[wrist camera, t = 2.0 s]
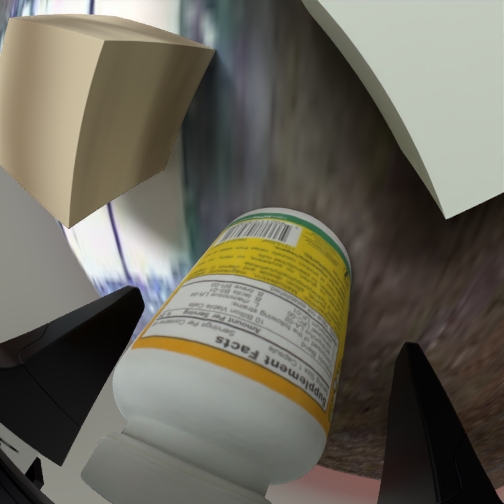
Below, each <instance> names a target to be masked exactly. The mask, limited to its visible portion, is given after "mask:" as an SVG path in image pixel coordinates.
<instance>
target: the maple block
mask: <svg viewBox="0 0 504 504" xmlns="http://www.w3.org/2000/svg"><path fill="white" fill-rule="evenodd" d="M215 51H216V50H215V49H212V48H210V47H208V46H205V45H203V44H200V43H198V42H195V41H193V40H190V39H187V38H185V37H182V36H179V35H176V34H173V33H171V32H168V31H165V30H162V29H159V28H155V27H152V26H149V25H146V24H142V23H139V22H135V21H132V20H128V19H124V18H120V17H116V16H105V15H85V14H55V15H36V16H24V17H15V18H10V19H9V22H8V26H7V30H6V34H5V38H4V42H3V47H2V51H1V57H0V165H1V166H2V167H3V168H4V169H5V170H6V171H7V172H8V173H9V174H10V175H11V176H12V177H13V178H14V179H15V180H16V181H17V182H18V183H19V184H20V185H21V186H22V187H23V188H24V189H25V190H26V191H27V192H28V193H29V194H30V195H31V196H32V197H33V198H34V199H36V200H37V201H38V202H39V203H40V204H41V205H42V206H43V207H44V208H45V209H47V211H49V212H50V213H51V214H52V215H53V216H54V217H55V218H56V219H57V220H59V221H60V222H61V223H62V224H63V225H64V226H65V227H67V228H68V229H70V228H71V227H73V226H74V225H75V224H77V223H78V222H80V221H81V220H83V219H84V218H86V217H87V216H89V215H90V214H92V213H93V212H95V211H96V210H98V209H99V208H101V207H102V206H104V205H105V204H107V203H109V202H110V201H112V200H113V199H115V198H116V197H118V196H120V195H121V194H123V193H125V192H126V191H128V190H130V189H131V188H133V187H135V186H136V185H138V184H140V183H141V182H143V181H145V180H147V179H148V178H150V177H152V176H154V175H155V174H157V173H159V172H161V171H162V170H164V168H165V165H166V163H167V160H168V157H169V155H170V152H171V149H172V147H173V144H174V142H175V139H176V137H177V134H178V132H179V129H180V127H181V124H182V122H183V120H184V117H185V115H186V113H187V110H188V108H189V106H190V103H191V101H192V99H193V97H194V94H195V92H196V90H197V88H198V86H199V84H200V82H201V79H202V77H203V75H204V73H205V71H206V69H207V67H208V65H209V63H210V61H211V59H212V57H213V55H214V53H215Z"/></svg>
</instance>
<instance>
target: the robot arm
mask: <svg viewBox="0 0 504 504" xmlns="http://www.w3.org/2000/svg"><path fill="white" fill-rule="evenodd" d="M144 308H145V304H144V301H143V298H142V295H141V292H140V289H139V288H138V287H135V286H131V285H128V286H126V287H123V288H121V289H119V290H117V291H115V292H113V293H110V294H108V295H106V296H104V297H102V298H100V299H98V300H96V301H93V302H91V303H89V304H87V305H85V306H83V307H81V308H78V309H76V310H74V311H72V312H70V313H68V314H66V315H64V316H62V317H59V318H58V319H55V320H53V321H51V322H50V323H47V324H45V325H43V326H41V327H39V328H36V329H34V330H32V331H30V332H27V333H25V334H23V335H20V336H18V337H16V338H13V339H10V340H8V341H5V342H2V343H0V504H55V503H53V502H52V501H51V500H50V499H49V498H48V497H47V496H46V495H45V494H43V493H42V492H41V491H40V489H41V488H42V486H43V485H44V481H43V475H42V468H41V460H40V459H39V458H38V457H37V456H38V454H39V453H40V454H42V455H43V456H45V457H46V458H48V459H49V460H51V461H52V462H54V463H56V464H57V465H59V466H62V464H63V463H64V461H65V459H66V457H67V455H68V453H69V450H70V448H71V446H72V444H73V442H74V441H75V439H76V437H77V435H78V433H79V431H80V429H81V426H82V425H83V423H84V421H85V419H86V417H87V415H88V413H89V411H90V410H91V408H92V406H93V404H94V402H95V400H96V399H97V397H98V395H99V393H100V391H101V390H102V388H103V386H104V384H105V382H106V381H107V379H108V377H109V375H110V374H111V372H112V370H113V368H114V367H115V365H116V363H117V362H118V360H119V358H120V356H121V355H122V353H123V351H124V350H125V348H126V346H127V344H128V342H129V340H130V338H131V336H132V334H133V332H134V330H135V328H136V326H137V324H138V322H139V319H140V317H141V315H142V313H143V311H144ZM377 504H504V503H503V502H502V501H501V500H500V498H499V497H498V495H497V493H496V491H495V489H494V487H493V485H492V483H491V482H490V480H489V478H488V476H487V474H486V472H485V471H484V469H483V467H482V465H481V463H480V461H479V459H478V457H477V456H476V453H475V451H474V449H473V447H472V445H471V443H470V441H469V439H468V436H467V434H466V433H465V430H464V428H463V426H462V424H461V422H460V420H459V418H458V416H457V414H456V412H455V410H454V408H453V406H452V404H451V402H450V400H449V398H448V396H447V394H446V392H445V390H444V388H443V386H442V385H441V383H440V381H439V379H438V377H437V375H436V374H435V372H434V370H433V368H432V366H431V365H430V363H429V361H428V359H427V358H426V356H425V354H424V353H423V351H422V349H421V347H420V346H419V344H417V343H413V342H405V343H404V345H403V347H402V349H401V351H400V353H399V355H398V357H397V359H396V362H395V368H394V376H393V383H392V390H391V397H390V403H389V410H388V424H387V436H386V447H385V456H384V464H383V471H382V478H381V485H380V491H379V496H378V502H377Z"/></svg>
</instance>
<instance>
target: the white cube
mask: <svg viewBox="0 0 504 504" xmlns="http://www.w3.org/2000/svg"><path fill="white" fill-rule="evenodd" d="M301 1H302V3H303V4H304V6H305V7H306V9H307V10H308V12H309V13H310V15H311V16H312V17H313V18H314V19H315V20H316V22H317V23H318V24H319V25H320V26H321V28H322V29H323V30H324V31H325V32H326V34H327V35H328V36H329V37H330V39H331V40H332V41H333V43H334V44H335V45H336V46H337V48H338V49H339V50H340V52H341V53H342V54H343V56H344V57H345V58H346V60H347V61H348V63H349V64H350V65H351V67H352V68H353V70H354V71H355V73H356V74H357V76H358V77H359V79H360V80H361V82H362V83H363V85H364V86H365V88H366V89H367V91H368V92H369V94H370V95H371V97H372V99H373V100H374V102H375V104H376V105H377V107H378V109H379V110H380V112H381V114H382V115H383V117H384V119H385V121H386V122H387V124H388V126H389V128H390V130H391V131H392V133H393V135H394V137H395V139H396V141H397V143H398V145H399V146H400V148H401V150H402V152H403V153H404V155H405V156H406V157H407V159H408V160H409V162H410V163H411V164H412V166H413V167H414V169H415V170H416V172H417V173H418V175H419V176H420V178H421V179H422V181H423V182H424V184H425V185H426V187H427V189H428V190H429V192H430V193H431V195H432V197H433V198H434V200H435V202H436V203H437V205H438V207H439V208H440V210H441V212H442V213H443V215H444V217H445V219H448V218H450V217H452V216H455V215H457V214H459V213H461V212H463V211H465V210H468V209H470V208H472V207H474V206H476V205H478V204H480V203H482V202H484V201H486V200H489V199H491V198H493V197H495V196H497V195H499V194H501V193H503V192H504V0H301Z"/></svg>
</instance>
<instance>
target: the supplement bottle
mask: <svg viewBox="0 0 504 504" xmlns="http://www.w3.org/2000/svg"><path fill="white" fill-rule="evenodd" d="M350 287H351V264H350V259H349V256H348V253H347V251H346V249H345V247H344V246H343V244H342V243H341V241H340V240H339V239H338V237H337V236H336V235H335V234H334V233H333V232H332V231H331V230H330V229H329V228H328V227H327V226H325V225H324V224H323V223H321V222H320V221H318V220H317V219H315V218H314V217H312V216H310V215H308V214H305V213H302V212H299V211H295V210H291V209H287V208H262V209H257V210H253V211H250V212H247V213H245V214H243V215H241V216H240V217H238V218H236V219H235V220H234V221H232V222H231V223H230V224H229V225H228V226H227V227H226V228H225V229H224V230H223V231H222V233H221V234H220V235H219V236H218V238H217V239H216V240H215V241H214V242H213V244H212V245H211V246H210V247H209V249H208V250H207V251H206V252H205V253H204V255H203V256H202V257H201V258H200V259H199V261H198V262H197V263H196V264H195V265H194V267H193V268H192V269H191V270H190V272H189V273H188V274H187V275H186V277H185V278H184V279H183V280H182V282H181V283H180V284H179V285H178V287H177V288H176V289H175V290H174V292H173V293H172V294H171V295H170V297H169V298H168V299H167V300H166V302H165V303H164V304H163V305H162V307H161V308H160V309H159V310H158V312H157V313H156V314H155V316H154V317H153V318H152V319H151V321H150V322H149V323H148V324H147V326H146V327H145V328H144V329H143V331H142V332H141V333H140V334H139V336H138V337H137V338H136V339H135V341H134V342H133V343H132V345H131V346H130V347H129V349H128V350H127V351H126V353H125V354H124V355H123V357H122V358H121V360H120V361H119V362H118V364H117V367H116V369H115V371H114V375H113V383H112V388H113V395H114V399H115V402H116V405H117V407H118V409H119V410H120V412H121V414H122V415H123V417H124V418H125V419H126V421H127V422H128V424H127V425H126V427H125V428H124V430H123V431H122V432H121V433H118V432H110V433H109V434H108V435H107V436H106V437H105V438H102V439H100V440H99V442H98V445H97V447H96V449H95V450H94V452H93V454H92V455H91V457H90V459H89V460H88V462H87V464H86V465H85V467H84V469H83V470H82V472H81V478H82V479H83V481H84V482H85V483H86V484H87V485H89V486H90V487H91V488H92V489H93V490H94V491H96V492H97V493H98V494H100V495H101V496H102V497H103V498H105V499H106V500H108V501H109V502H111V503H112V504H271V502H270V501H268V500H267V499H265V495H266V492H267V489H268V486H269V485H279V484H284V483H288V482H291V481H294V480H297V479H299V478H301V477H302V476H304V475H305V474H307V473H308V472H309V471H310V470H311V469H312V468H313V467H314V466H315V465H316V464H317V462H318V461H319V459H320V458H321V456H322V453H323V451H324V448H325V445H326V442H327V438H328V433H329V429H330V425H331V422H332V416H333V410H334V405H335V400H336V393H337V387H338V382H339V377H340V371H341V364H342V359H343V353H344V345H345V337H346V330H347V321H348V313H349V305H350V293H351V288H350Z"/></svg>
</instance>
